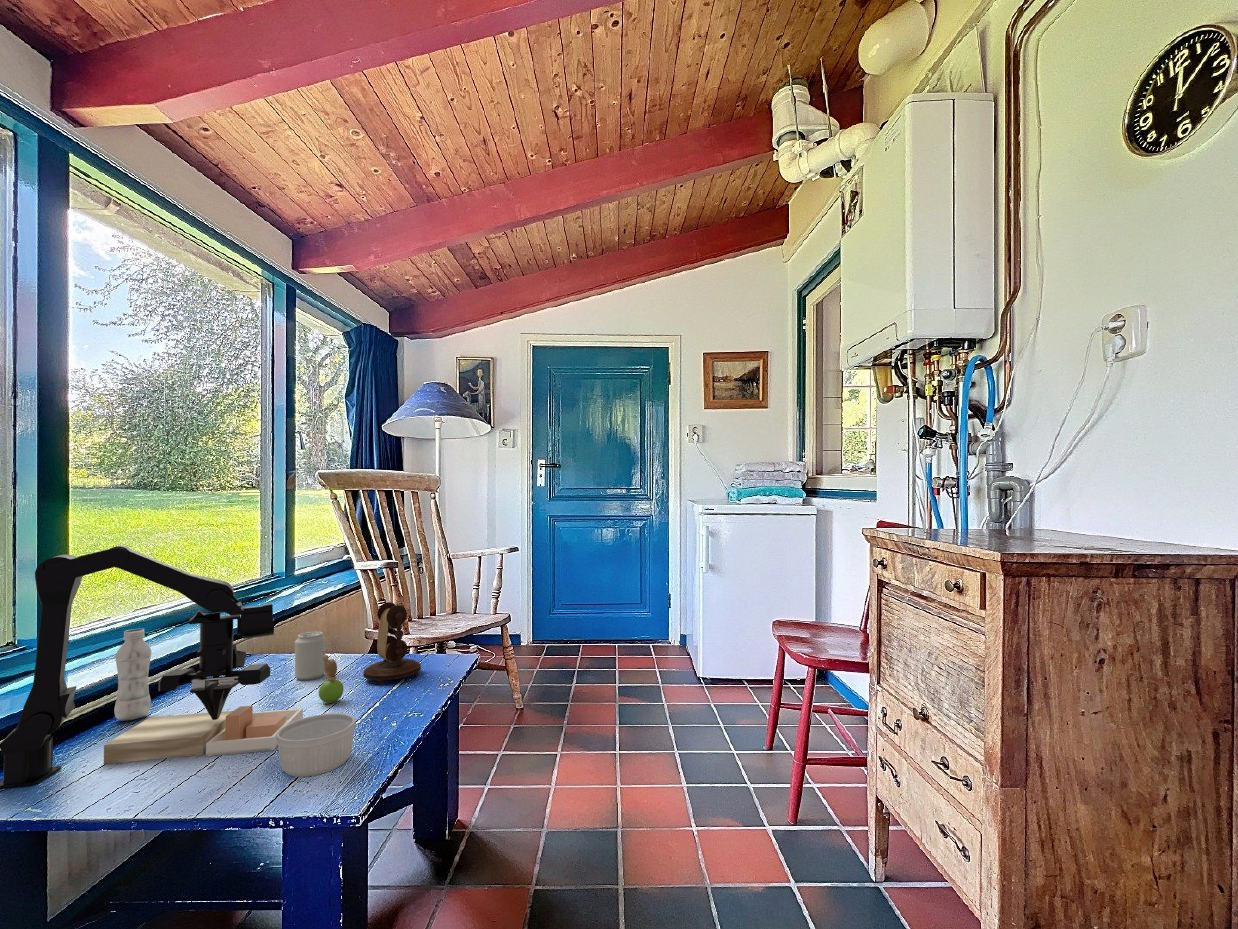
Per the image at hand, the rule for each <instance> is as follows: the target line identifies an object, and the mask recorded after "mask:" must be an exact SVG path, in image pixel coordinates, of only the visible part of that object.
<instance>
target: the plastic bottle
mask: <svg viewBox="0 0 1238 929" xmlns="http://www.w3.org/2000/svg"><path fill="white" fill-rule="evenodd" d="M145 637H146V635H145V628H133V629H128V630H125V631H123V637H122V640H123V641H124V643H123V644H122V645H121V646H120V647H119V648H118V650H117V651H116V653H115V656H114V657H115V664H116V669H117V684H118V686H117V694H116V700H115V703H114V704H115V705H114V710H113V711H114V717H115V718H116V719H117V720H118V721H120V722H121V721H122V722H123V721H125V722H127V721H133V720H137V719H141V718H144V717H146V716H147V715H148V714H149V713H150V711H151V708H152V699H151V695H150V689H149V670H150V665H151V663H150V662H151V659H152V658H151V657H152V648H151V646H150V645H149V644H148V643H147V642H146V641H145V640H144V638H145Z"/></svg>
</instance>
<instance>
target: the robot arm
mask: <svg viewBox="0 0 1238 929" xmlns="http://www.w3.org/2000/svg"><path fill="white" fill-rule="evenodd" d="M113 568H116V569H120V570H122V571H124V572H128V573H131V574H133V575H134V576H136V577H137V576H138V577H139V578H143V579H145V580H148V581H150V582H152V583H156V584H158V585H161V586H163V587H165V588H168V589H170V590H173V591H176V592H178V593H180V594H181V595H183V596H185V598H187V599H189V600H190V601H191V602H193V603H194V604H196V605H198V606H199V607H201V608H203V609H204V610H206V611H208V613H205V612H202V610H201V609H200V610H197V612H196V613H195V614H194V615H193V616H192V617H190V618H189V621H188V625H198V624H199V650H197V651H196V652H195V653H196V655H195V657H196V658H198V657H199V670H198V671H196V670H195V669H194V668H183V669H181V668H180V669H174V670H172V671H169V672H168V673H166V674H164V675H162V676H161V677H160V678H159V681H158V692H168V691H175V690H177V689H178V688H179V687H180V686H181V685H185V684H186V685H187V684H191V689H190V690H189V692H190V694H195V696H196V697H197V698H198V699H199V701H200V702H201V704H203V707H204V708H205V709H206V711H207V713H209V715H210V716H211V718H212V720H217V719H218V718H219V717H220V714H221V712H223V708H224V706H225V703H226V701H227V698H228V697H229V695H230V693H231V691H232V689H233V688H234V687H237V686H238V685H239V684H240V685H242V686H249V685H259V684H261V683H262V682H264V681H266V680H267V679H269V677H271V667H270V666H269V664H268V663H259V664H258V663H257V664H255V663H254V664H248V665H247V666H245V662H246V657H247V652H246V651H242V650H238V649H237V643H235V642H234V620H237V621H236V622H237V624H236V626H237V628H236V635H237V636H240V637H243V638H242V639H243V640H247V639H248V640H249V639H254V638H263V637H269V636H274V635H275V619H274V610H273V607H274V606H273V603H271V602H269V603H264V604H260V605H253V606H244V605H243V604H242V602H241V601H239V600H238V599H237V598H236V597H235V596H234V594H235V593H234V589H233V586H232V585H231V583H229V582H227V581H225V580H222V579H217V578H212V577H209V576H202V575H197V574H193V573H190V572H187V571H184V570H182V569H180V568H177V567H175V566H173V565H170V564H168V563H165V562H163V561H160V560H157V559H155V558H152V557H150V556H148V555H145V554H143V553H141V552H138V551H136V550H133V549H132V548H130V547H129V546H127V545H121V544H120V545H116V546H113V547H111V548H108V549H103V550H100V551H95V552H91V553H87V554H82V555H79V556H76V555H73V554H59V555H56V556H53V557H49V558H47V559H45V560H44V561H42V562H40V563H39V564H38V565H37V567H36V568H35V572H34V579H35V580H34V581H35V588H36V593H37V596H38V600H39V603H40V606H41V609H40V620H39V628H38V638H37V646H36V655H35V663H34V664H35V666H34V671H33V672H34V675H33V683H32V686H31V689H30V691H29V693H28V696H27V698H26V700H25V703H24V705H23V706H22V710H21V714H20V717H19V720H18V723H17V726H16V727H15V728H14V729H13V730H11V732H10V733H9V734H8V735H7V736H6V737H5V738H4V739H3V740H2V741H0V751H1V753H2V755H3V777H2V780H1V781H0V789H4V788H14V787H26V786H27V787H28V786H34V785H36V784H38V783H40V782H42V781H43V780H45V779H47V778H48V777H50V776H52V775H53V774H55V773H57V772H58V771H60V770H62V766H61V765H57V766H56V765H55V766H53V765H54V760H53V759H54V743H53V740H54V739H53V738H54V736H53V735H52V734H53V733H54V732H56V731H57V730H58V729H59V728H60V727H61V726H62V724H63V723H64V721H65V720H66V718H68V717H69V716H70V714H71V713H72V711H74V709H75V708H76V704H75V702H74V697H75V695H76V690H77V685H75V686H71V687H68V686H67V684H66V680H65V674H66V665H67V664H66V663H67V653H68V643H69V636H70V635H69V634H70V624H71V617H72V608H73V602H74V599H75V598H76V596H77V593H78V591H79V588H80V585H81V583H82V579H83V577H84V576H87V575H91V574H95V573H98V572H101V571H105V570H109V569H113ZM220 611H221V612H223V613H225V614H227V615H221V612H220ZM209 612H210V613H209ZM238 668H239V670H238ZM240 668H242V669H240ZM234 669H235V670H234ZM236 669H237V670H236Z"/></svg>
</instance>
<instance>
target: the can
mask: <svg viewBox="0 0 1238 929" xmlns="http://www.w3.org/2000/svg"><path fill="white" fill-rule="evenodd" d="M323 634H324V632H323V631H308V632H302V633H299V634H298V635H297V639H295V641H294V656H295V657H294V678H297V680H300V681H312V680H316V679H319V678H321V677H322V676H323V675H325V672H324V666H323V652H322V651H323V650H324V651H325V650H326V636H324V635H323ZM324 655H326V652H324Z"/></svg>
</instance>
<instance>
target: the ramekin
mask: <svg viewBox="0 0 1238 929" xmlns="http://www.w3.org/2000/svg"><path fill="white" fill-rule="evenodd" d="M355 729H356V717H354V715H351V714H348V713H342V712H332V713H323V714H322V713H321V714H316V715H312V716H311V715H310V716H307V717H303V719H300V720H297V721H294V722H292V723H289V724H287V725H285V726H284V727H282V728H281V729H280V730H279V731H278V732H277V734H276V743H277V744H278V746H277V747H278V755H279V763H280V766H281V769H282V771H283V772H284V773H286V774H287V775H289V776H291V777H292V776H293V777H297V778H301V777H302V778H303V777H304V778H305V777H312V776H313V777H314V776H318V775H322V774H325V773H328V772H330V771H333V770H335V769H337V768H339V767H341V766H342V765H343V764H345V763H346V762H347V761H348V759H349V758H350V756H351V754H352V752H353V751H352V750H353V744H354V743H353V742H354V733H355Z"/></svg>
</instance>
